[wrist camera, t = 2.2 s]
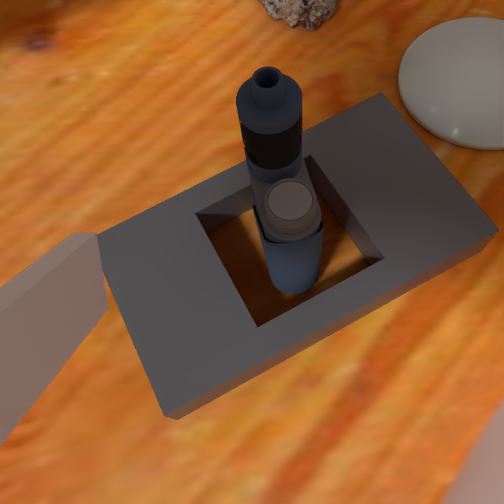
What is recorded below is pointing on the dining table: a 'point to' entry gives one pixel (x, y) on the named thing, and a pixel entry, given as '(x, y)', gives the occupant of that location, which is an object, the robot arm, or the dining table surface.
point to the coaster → (457, 82)
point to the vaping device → (280, 179)
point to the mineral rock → (301, 11)
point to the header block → (313, 310)
